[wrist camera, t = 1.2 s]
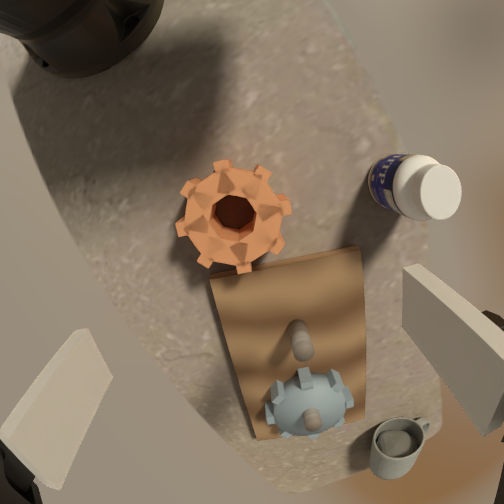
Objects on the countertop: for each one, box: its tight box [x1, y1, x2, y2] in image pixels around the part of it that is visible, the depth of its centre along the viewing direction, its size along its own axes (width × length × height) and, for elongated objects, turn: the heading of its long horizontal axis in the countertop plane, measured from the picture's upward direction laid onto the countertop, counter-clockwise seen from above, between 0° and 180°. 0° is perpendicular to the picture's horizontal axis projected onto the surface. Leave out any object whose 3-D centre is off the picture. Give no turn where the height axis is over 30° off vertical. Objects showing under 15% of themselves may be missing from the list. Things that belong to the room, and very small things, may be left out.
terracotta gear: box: [175, 159, 292, 274], centre depth 25 cm, size 9×9×4 cm
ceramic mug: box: [369, 417, 430, 480], centre depth 33 cm, size 11×8×8 cm
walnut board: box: [209, 245, 366, 441], centre depth 29 cm, size 23×14×6 cm, turn 11°
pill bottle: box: [368, 154, 461, 221], centre depth 23 cm, size 5×5×9 cm
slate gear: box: [265, 367, 354, 439], centre depth 31 cm, size 10×10×2 cm
